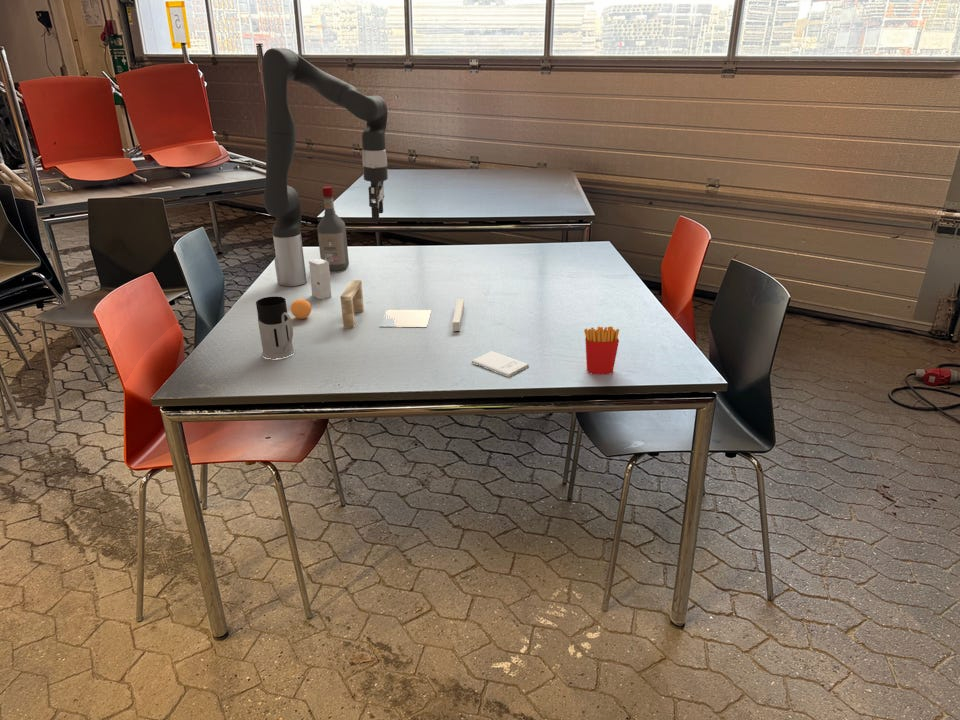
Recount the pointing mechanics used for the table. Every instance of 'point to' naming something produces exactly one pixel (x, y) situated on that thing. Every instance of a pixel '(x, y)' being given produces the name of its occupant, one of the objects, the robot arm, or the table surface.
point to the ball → (301, 308)
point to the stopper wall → (458, 315)
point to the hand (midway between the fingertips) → (377, 216)
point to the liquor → (332, 235)
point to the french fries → (601, 349)
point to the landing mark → (409, 317)
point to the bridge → (351, 302)
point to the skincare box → (320, 278)
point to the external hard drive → (500, 363)
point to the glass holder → (275, 327)
